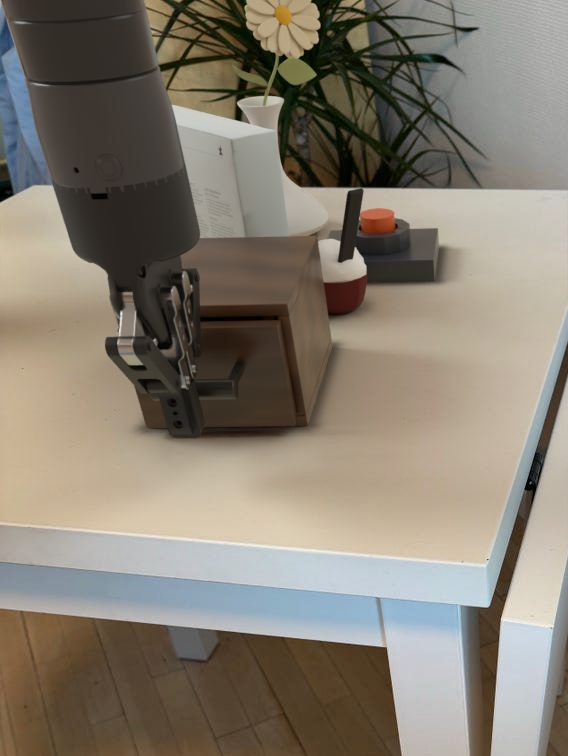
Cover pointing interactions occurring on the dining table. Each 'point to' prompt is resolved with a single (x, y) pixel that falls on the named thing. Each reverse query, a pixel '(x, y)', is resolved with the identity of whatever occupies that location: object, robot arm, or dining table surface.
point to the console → (397, 253)
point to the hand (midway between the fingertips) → (188, 432)
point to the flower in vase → (289, 36)
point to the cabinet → (271, 299)
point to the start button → (377, 221)
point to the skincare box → (232, 176)
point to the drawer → (237, 375)
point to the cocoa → (344, 262)
